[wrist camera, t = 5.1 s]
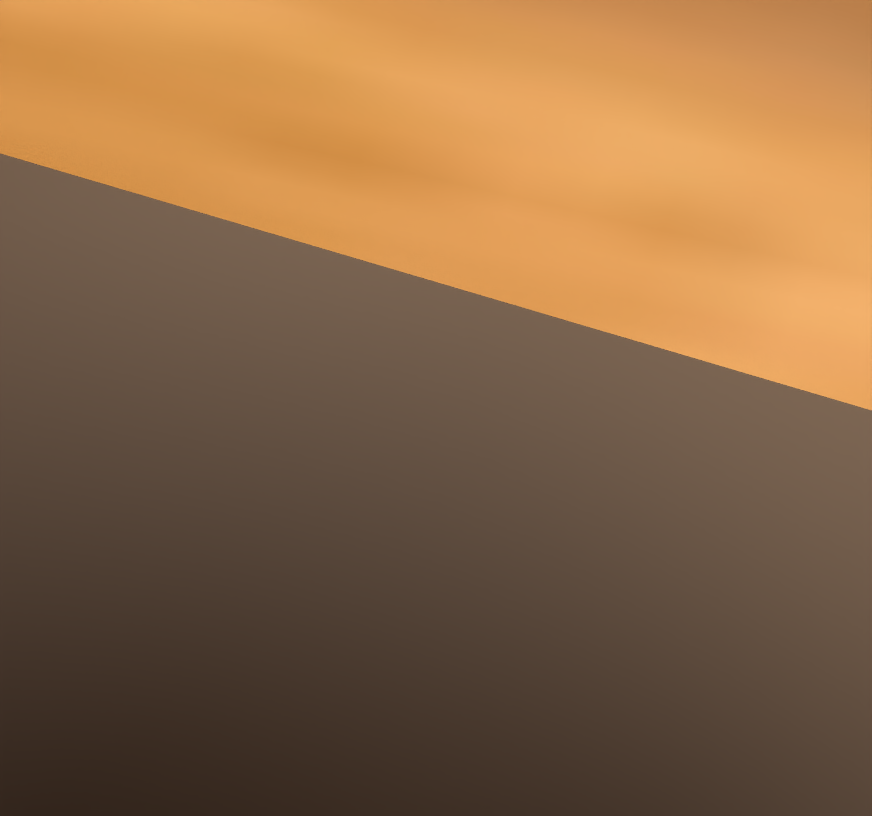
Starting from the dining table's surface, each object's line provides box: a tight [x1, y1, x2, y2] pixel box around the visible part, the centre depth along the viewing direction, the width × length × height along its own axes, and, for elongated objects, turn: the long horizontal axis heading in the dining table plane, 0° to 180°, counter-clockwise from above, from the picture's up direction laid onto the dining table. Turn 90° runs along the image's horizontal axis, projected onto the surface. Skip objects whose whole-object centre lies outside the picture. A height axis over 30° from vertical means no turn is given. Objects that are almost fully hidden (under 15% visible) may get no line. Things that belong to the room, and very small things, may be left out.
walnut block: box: [0, 154, 872, 816], centre depth 9 cm, size 5×5×13 cm
